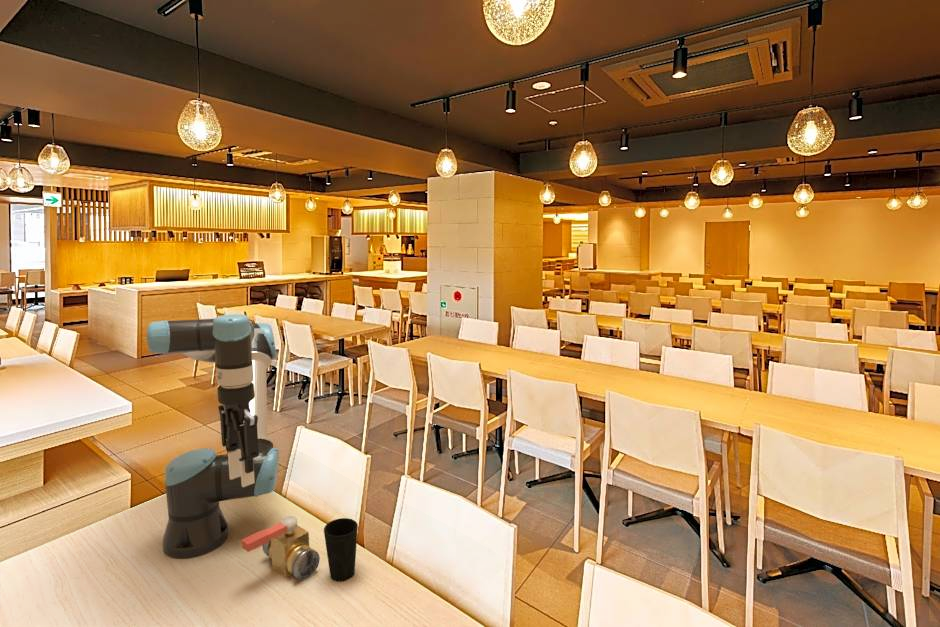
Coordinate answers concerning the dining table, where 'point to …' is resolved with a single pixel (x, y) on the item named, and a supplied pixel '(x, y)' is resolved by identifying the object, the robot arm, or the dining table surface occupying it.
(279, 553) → the valve body
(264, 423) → the robot arm
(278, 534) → the lever
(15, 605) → the dining table surface
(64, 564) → the dining table surface
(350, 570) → the cup
